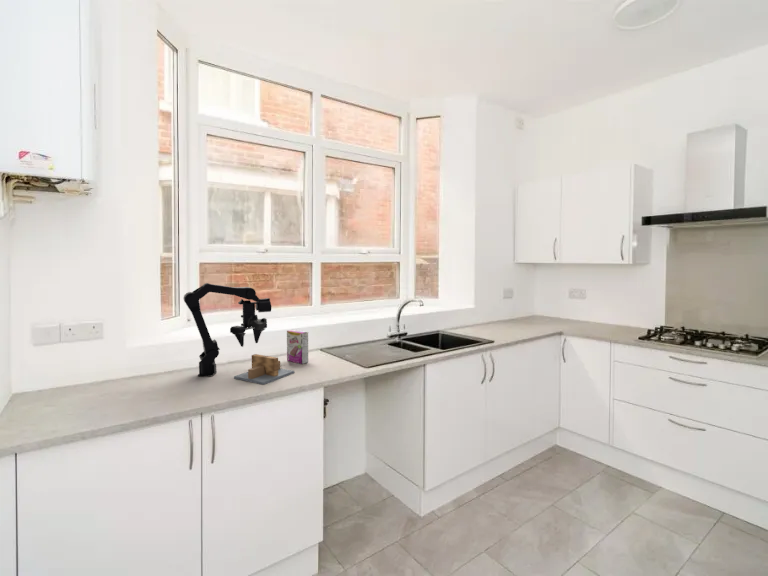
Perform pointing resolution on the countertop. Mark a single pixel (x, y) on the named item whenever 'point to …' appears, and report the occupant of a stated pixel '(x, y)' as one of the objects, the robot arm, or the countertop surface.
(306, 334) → the candy bar box
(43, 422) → the countertop surface
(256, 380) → the joint board
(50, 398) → the countertop surface
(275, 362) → the crossbar
